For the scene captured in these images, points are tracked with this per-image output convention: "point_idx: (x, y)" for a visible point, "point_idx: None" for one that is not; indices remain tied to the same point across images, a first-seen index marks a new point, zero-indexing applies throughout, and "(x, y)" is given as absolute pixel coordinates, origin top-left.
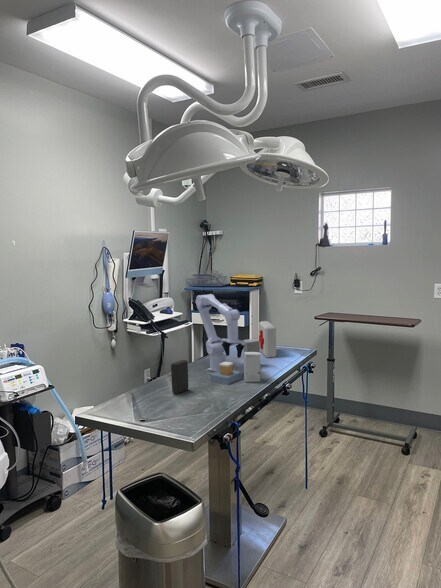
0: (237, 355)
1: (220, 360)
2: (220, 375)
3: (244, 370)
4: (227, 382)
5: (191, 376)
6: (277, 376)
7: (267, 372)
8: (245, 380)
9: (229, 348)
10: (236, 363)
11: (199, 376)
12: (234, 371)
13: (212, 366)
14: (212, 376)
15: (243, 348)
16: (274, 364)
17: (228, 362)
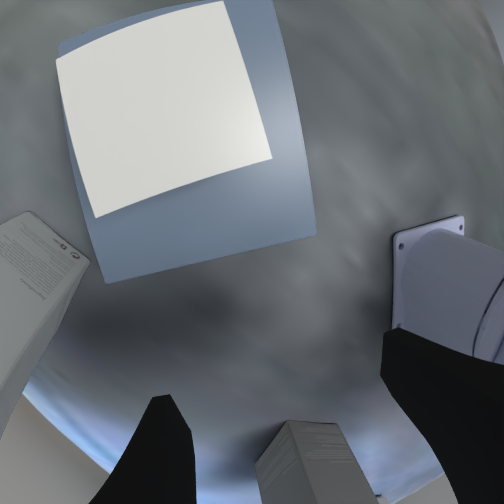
0: (160, 420)
1: (445, 306)
2: None
3: (29, 273)
4: None
5: (431, 47)
6: (49, 416)
7: None
8: (22, 215)
9: (433, 450)
10: (389, 407)
11: (406, 68)
12: (165, 239)
13: (451, 235)
14: (243, 2)
15: (376, 501)
16: (228, 496)
17: (163, 165)
